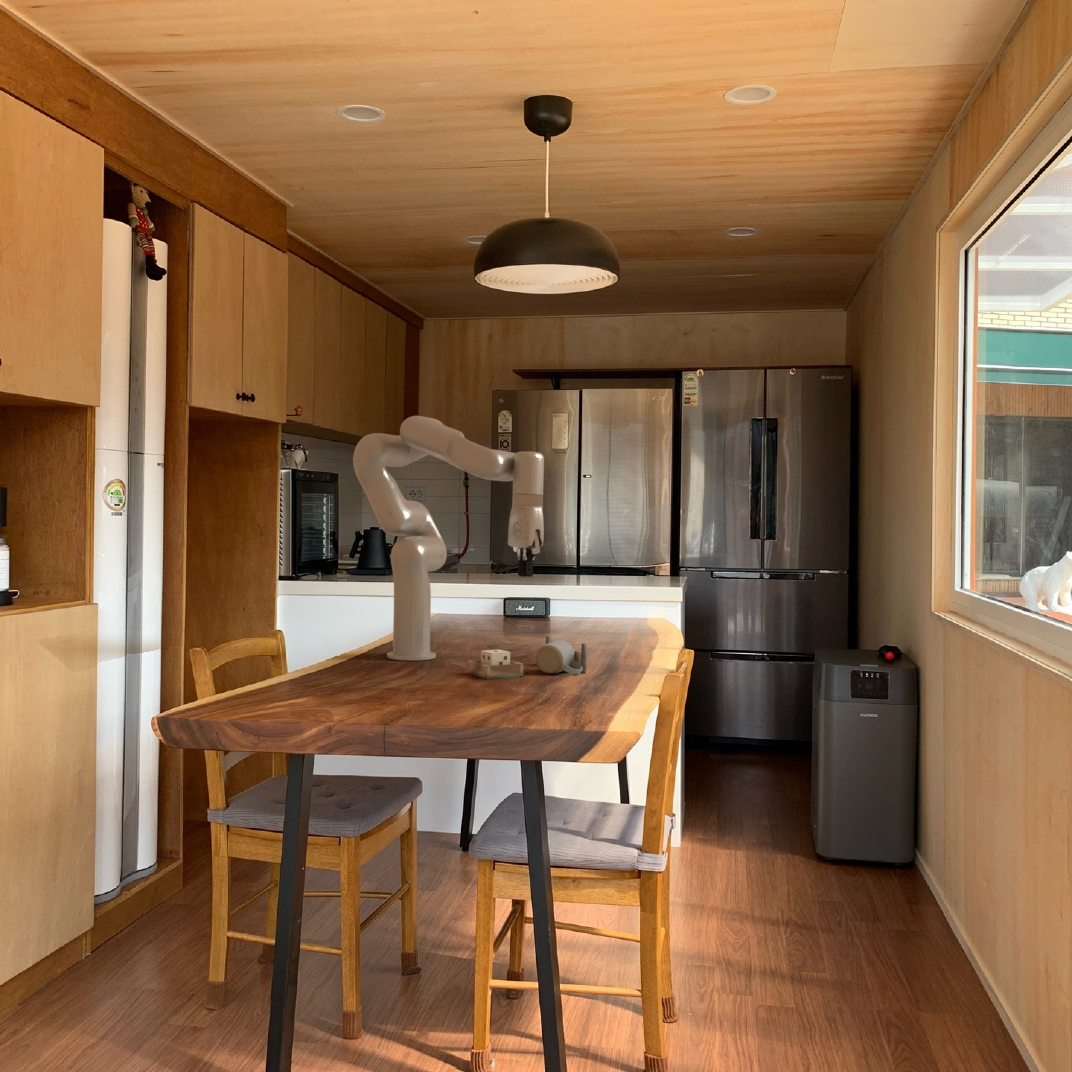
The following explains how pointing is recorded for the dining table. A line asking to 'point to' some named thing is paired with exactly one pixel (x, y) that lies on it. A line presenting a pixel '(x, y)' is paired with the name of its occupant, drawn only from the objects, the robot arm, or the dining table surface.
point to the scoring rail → (577, 655)
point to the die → (495, 657)
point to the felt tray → (494, 670)
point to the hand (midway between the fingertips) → (525, 576)
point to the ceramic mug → (557, 658)
